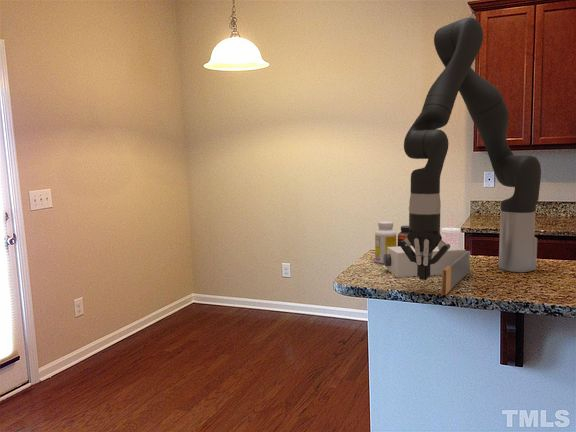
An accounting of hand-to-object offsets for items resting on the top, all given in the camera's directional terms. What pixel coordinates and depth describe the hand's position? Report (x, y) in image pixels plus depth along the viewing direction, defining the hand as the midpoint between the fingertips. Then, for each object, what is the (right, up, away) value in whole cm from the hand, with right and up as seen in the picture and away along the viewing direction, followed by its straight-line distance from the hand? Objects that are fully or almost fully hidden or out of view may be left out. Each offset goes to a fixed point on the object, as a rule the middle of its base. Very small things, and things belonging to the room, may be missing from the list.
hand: (423, 279), depth 127 cm
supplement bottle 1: (-3, +1, +34) cm, 34 cm away
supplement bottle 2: (+4, +1, +35) cm, 35 cm away
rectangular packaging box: (+6, 0, +20) cm, 21 cm away
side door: (+11, -2, +6) cm, 13 cm away
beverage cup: (+20, +3, +42) cm, 46 cm away
